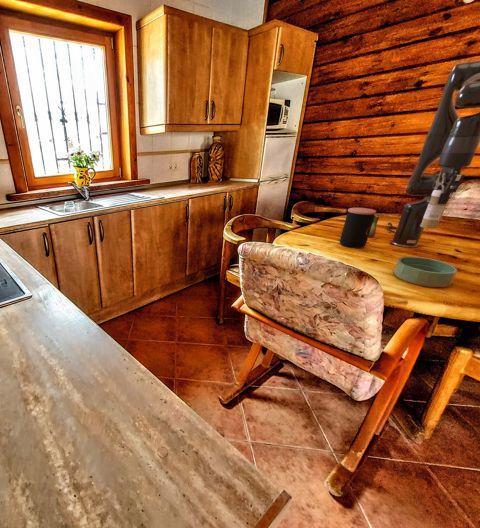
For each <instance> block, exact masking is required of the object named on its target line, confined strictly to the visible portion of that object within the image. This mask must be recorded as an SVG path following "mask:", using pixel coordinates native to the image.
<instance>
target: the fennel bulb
mask: <svg viewBox="0 0 480 528" xmlns="http://www.w3.org/2000/svg"><path fill="white" fill-rule="evenodd" d="M374 216H375V217H374V221H373V224H372V227H371V230H370V233H369V236H368V238H373V237H374V236H376V232H377V225H378V222H379V219H380V215H378V214H374Z"/></svg>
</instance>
